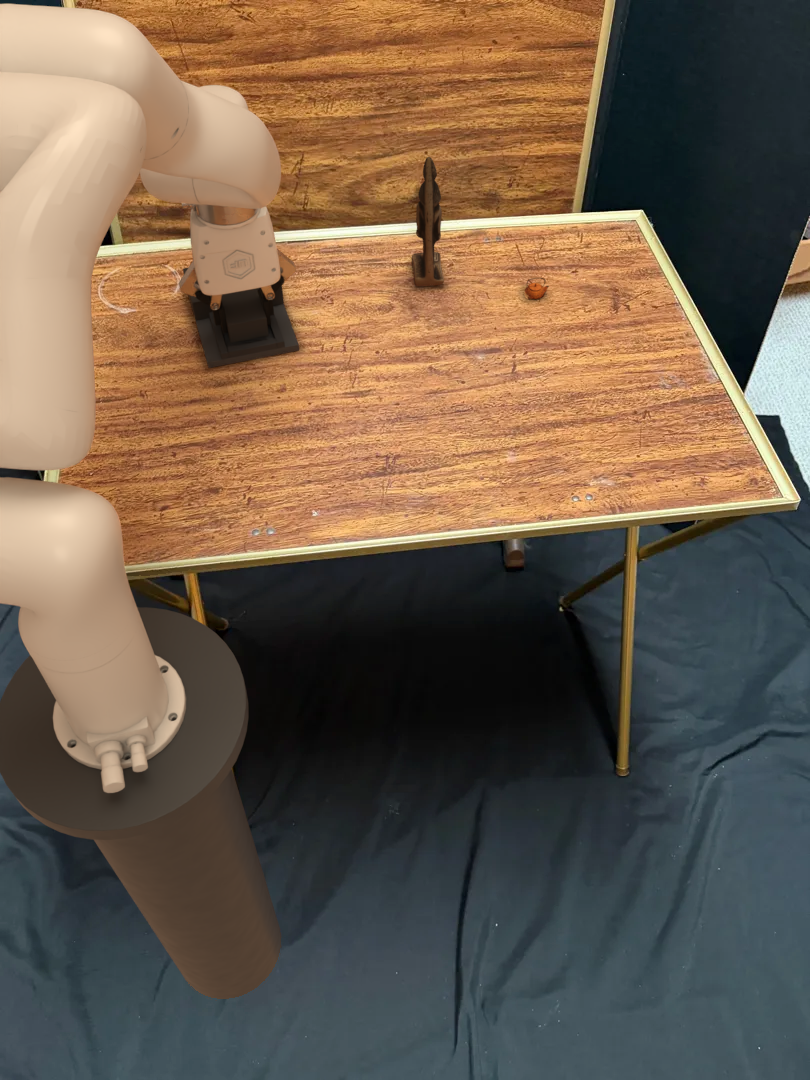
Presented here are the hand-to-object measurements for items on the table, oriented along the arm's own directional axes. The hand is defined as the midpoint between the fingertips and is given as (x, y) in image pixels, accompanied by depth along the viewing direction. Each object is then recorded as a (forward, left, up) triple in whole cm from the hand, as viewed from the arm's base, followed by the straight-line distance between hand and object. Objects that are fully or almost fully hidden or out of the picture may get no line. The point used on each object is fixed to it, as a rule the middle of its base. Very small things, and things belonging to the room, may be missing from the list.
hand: (244, 321), depth 127 cm
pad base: (+3, 0, -2) cm, 4 cm away
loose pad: (0, 0, -1) cm, 1 cm away
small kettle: (-3, -40, -3) cm, 40 cm away
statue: (+5, -27, -3) cm, 28 cm away
